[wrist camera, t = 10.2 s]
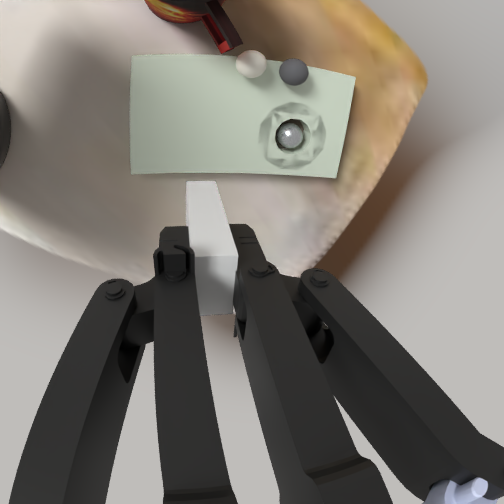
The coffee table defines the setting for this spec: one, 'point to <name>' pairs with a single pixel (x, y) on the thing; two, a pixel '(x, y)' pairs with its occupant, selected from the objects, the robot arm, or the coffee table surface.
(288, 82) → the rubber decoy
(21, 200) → the coffee table surface
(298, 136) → the steel ball
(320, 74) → the board
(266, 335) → the robot arm
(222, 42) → the mug
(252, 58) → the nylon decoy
